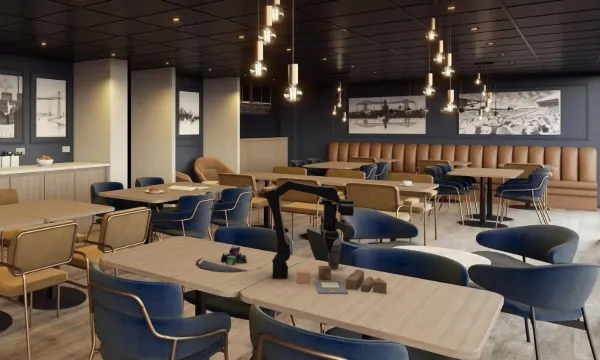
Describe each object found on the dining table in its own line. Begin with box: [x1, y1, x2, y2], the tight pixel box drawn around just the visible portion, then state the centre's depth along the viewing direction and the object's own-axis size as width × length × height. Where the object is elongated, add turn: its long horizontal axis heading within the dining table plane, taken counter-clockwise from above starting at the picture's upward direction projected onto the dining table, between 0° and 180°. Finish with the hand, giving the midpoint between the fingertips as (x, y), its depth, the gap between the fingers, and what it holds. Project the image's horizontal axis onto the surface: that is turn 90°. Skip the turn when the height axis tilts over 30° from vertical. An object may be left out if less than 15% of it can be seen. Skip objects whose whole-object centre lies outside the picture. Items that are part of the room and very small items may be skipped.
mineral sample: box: [195, 245, 262, 273], centre depth 249 cm, size 35×35×9 cm
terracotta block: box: [296, 268, 310, 285], centre depth 219 cm, size 5×5×5 cm
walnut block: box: [317, 265, 332, 281], centre depth 226 cm, size 5×5×5 cm
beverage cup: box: [327, 237, 342, 271], centre depth 241 cm, size 7×7×20 cm
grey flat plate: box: [314, 280, 349, 295], centre depth 212 cm, size 12×16×1 cm
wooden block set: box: [345, 269, 387, 295], centre depth 216 cm, size 17×6×18 cm
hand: (327, 249), depth 224 cm, fingers open, 9 cm apart
